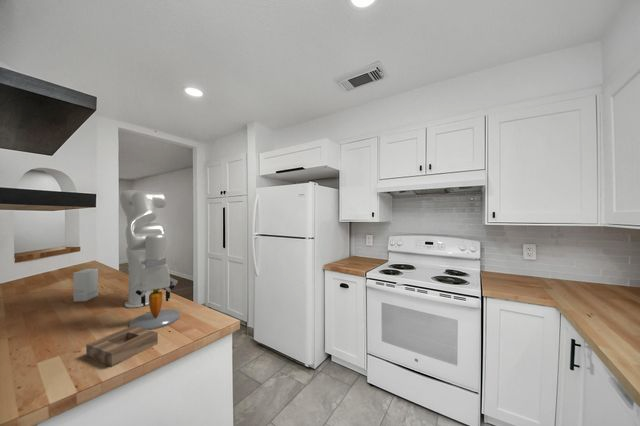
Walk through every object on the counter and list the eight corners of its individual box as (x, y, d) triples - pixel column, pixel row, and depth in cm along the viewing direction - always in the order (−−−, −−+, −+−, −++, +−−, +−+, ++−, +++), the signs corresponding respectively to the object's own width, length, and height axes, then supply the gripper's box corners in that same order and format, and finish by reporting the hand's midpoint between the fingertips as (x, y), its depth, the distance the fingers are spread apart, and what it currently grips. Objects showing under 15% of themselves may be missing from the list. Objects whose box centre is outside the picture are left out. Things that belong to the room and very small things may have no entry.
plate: (119, 325, 99) (119, 323, 99) (162, 309, 116) (162, 307, 116) (148, 334, 93) (148, 331, 93) (188, 315, 109) (188, 313, 109)
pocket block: (86, 356, 78) (86, 344, 78) (133, 335, 91) (133, 325, 91) (111, 366, 73) (111, 353, 73) (157, 343, 86) (157, 332, 86)
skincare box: (86, 296, 134) (86, 268, 134) (99, 295, 134) (99, 268, 134) (72, 301, 125) (72, 272, 125) (86, 301, 126) (86, 272, 126)
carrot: (147, 318, 104) (147, 284, 104) (160, 314, 108) (160, 281, 108) (150, 321, 101) (150, 286, 101) (164, 317, 105) (163, 283, 104)
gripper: (130, 266, 96) (130, 310, 96) (180, 261, 107) (180, 300, 107) (130, 263, 102) (130, 304, 102) (177, 258, 113) (177, 295, 113)
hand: (155, 302), depth 104 cm, fingers open, 7 cm apart
